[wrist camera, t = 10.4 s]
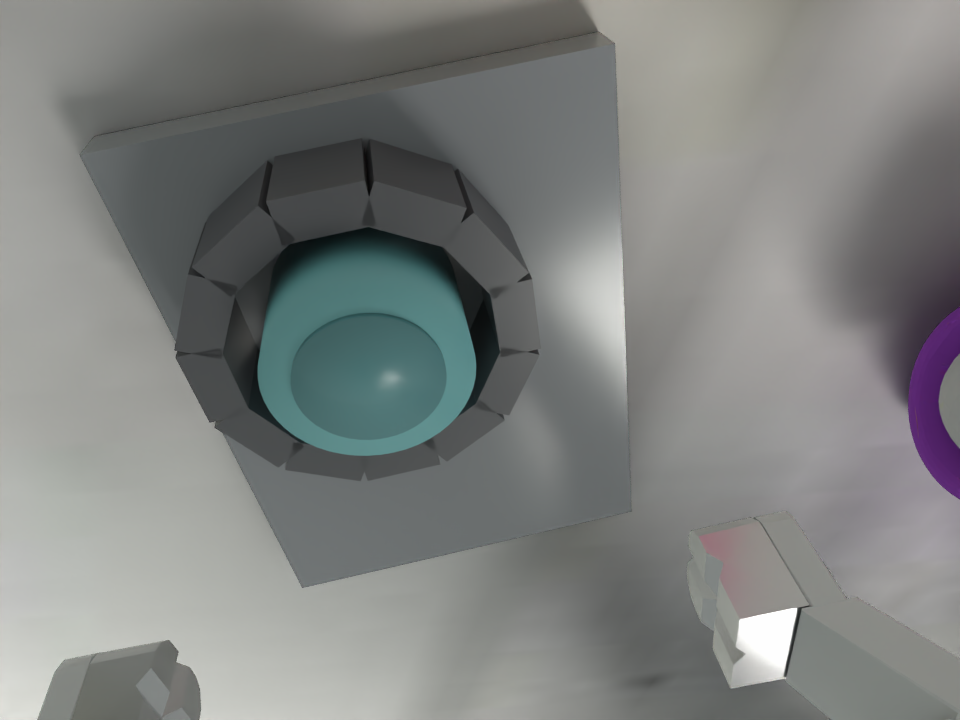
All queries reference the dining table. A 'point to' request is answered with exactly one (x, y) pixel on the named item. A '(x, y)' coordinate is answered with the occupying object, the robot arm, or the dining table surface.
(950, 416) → the toy camera
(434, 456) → the grey segmented ring
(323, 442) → the cap
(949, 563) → the dining table surface
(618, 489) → the board
